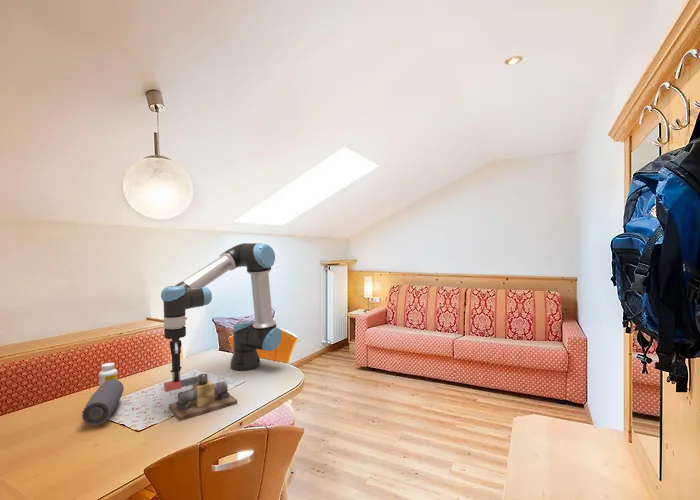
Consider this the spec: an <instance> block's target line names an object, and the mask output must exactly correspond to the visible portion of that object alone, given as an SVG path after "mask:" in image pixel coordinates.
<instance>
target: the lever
mask: <svg viewBox="0 0 700 500" xmlns="http://www.w3.org/2000/svg"><path fill="white" fill-rule="evenodd" d="M207 379H208V373H201V374H198V375H197V376H193V377H188V378H185V379H181V378H180V379H179V380H174V381H172V380H170V381H165V382H163V391H164V393H168V392H172V391H176V390H181V389H182V388H184V387H188V386H192V385H193V384H198V383H199V384H205V383H207V382H208V380H207Z"/></svg>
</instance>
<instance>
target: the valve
mask: <svg viewBox="0 0 700 500" xmlns="http://www.w3.org/2000/svg"><path fill="white" fill-rule="evenodd" d="M207 380H208V382H207V383H205V384H199V383H198V384H193V385H191V386H192V387H191V388H192V389H188V390H183V391H180V392H177V401H175V402H172V403H169V404H168V409H169V411H170V412H171V413H172V414H173V415H174V416H175V417H176V419H177V420H178V422H182V421H185V420H188V419H192V418H195V417H198V416H202V415H204V414H208V413H212V412H215V411H218V410H222V409H224V408H228V407H232V406H235V405H237V404H238V399H236V398H235V397H234V396H233V395H232V394H231V393H230V392H229V391H228V390H229V389H228V383H227V381H226V380H223V381H220V382H213V381H212V380H210V379H209V378H207Z"/></svg>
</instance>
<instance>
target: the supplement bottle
mask: <svg viewBox="0 0 700 500" xmlns="http://www.w3.org/2000/svg"><path fill="white" fill-rule="evenodd" d="M112 379H115V380H118V369H117V368H115V363H114V362H106V363H103V364H101V370H100V372H99V373H98V388H99V387H100V386H101V385H102V384H103V383H105V382H106V381H108V380H112ZM118 381H119V380H118Z"/></svg>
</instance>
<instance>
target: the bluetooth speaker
mask: <svg viewBox="0 0 700 500" xmlns="http://www.w3.org/2000/svg"><path fill="white" fill-rule="evenodd" d="M123 392H124V384H123V383H122V381H120V380H115V379H112V380H108V381H106V382H105V383H103V384H102V385H101V386H100V387H99V386H98V388H97V389H96V391H95V392H94V393H93V394H92V395H91V397H90V398H89V400H88V402H87V403H86V405H85V406H84V408H83V410H82V414H81V417H82V421H83V422H84V423H85V424H87V425H89V426H99V425H102V424H104V422H106V421H107V420H108V419H109V418H110V417H111V415H112V414H113V412H114V411H115V409H116V408H117V406H118V405H119V402H120V400H121V398H122V396H123Z"/></svg>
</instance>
